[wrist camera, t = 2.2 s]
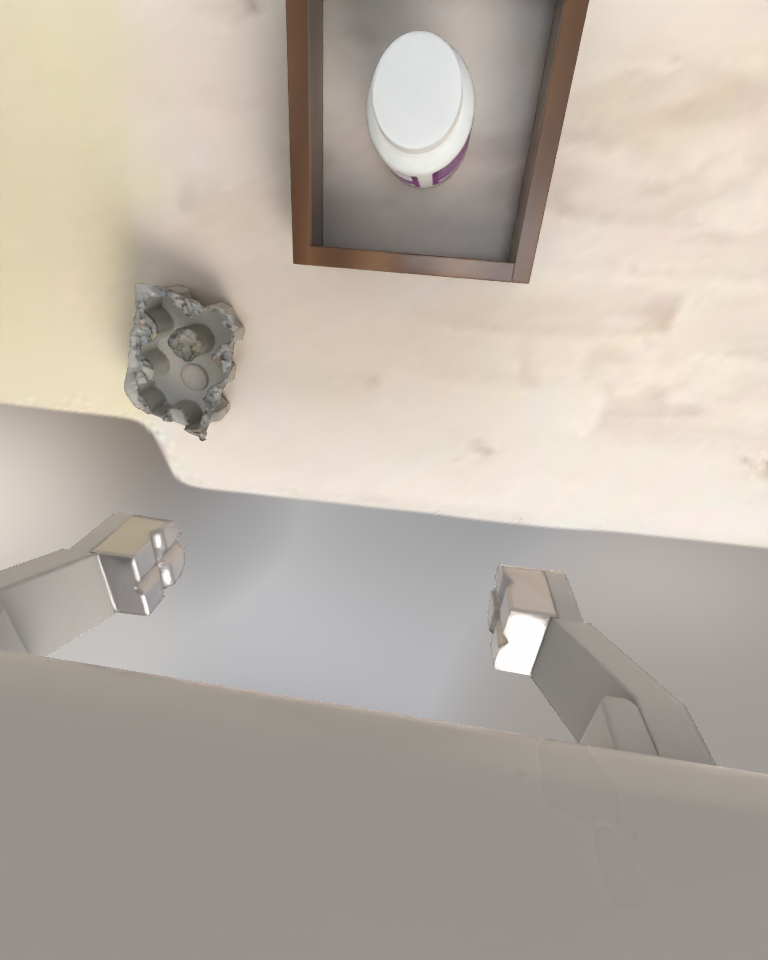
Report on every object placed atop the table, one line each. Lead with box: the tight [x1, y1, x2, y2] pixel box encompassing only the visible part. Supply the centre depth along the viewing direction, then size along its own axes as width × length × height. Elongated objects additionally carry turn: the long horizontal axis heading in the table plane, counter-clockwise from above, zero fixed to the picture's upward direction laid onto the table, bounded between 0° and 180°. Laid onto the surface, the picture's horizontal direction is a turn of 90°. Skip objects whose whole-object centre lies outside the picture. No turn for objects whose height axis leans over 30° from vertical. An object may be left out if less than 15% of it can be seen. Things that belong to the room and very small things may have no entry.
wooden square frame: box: [286, 0, 589, 284], centre depth 25 cm, size 15×15×4 cm
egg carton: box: [124, 283, 245, 441], centre depth 34 cm, size 11×8×4 cm
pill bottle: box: [367, 31, 475, 189], centre depth 23 cm, size 5×5×10 cm
